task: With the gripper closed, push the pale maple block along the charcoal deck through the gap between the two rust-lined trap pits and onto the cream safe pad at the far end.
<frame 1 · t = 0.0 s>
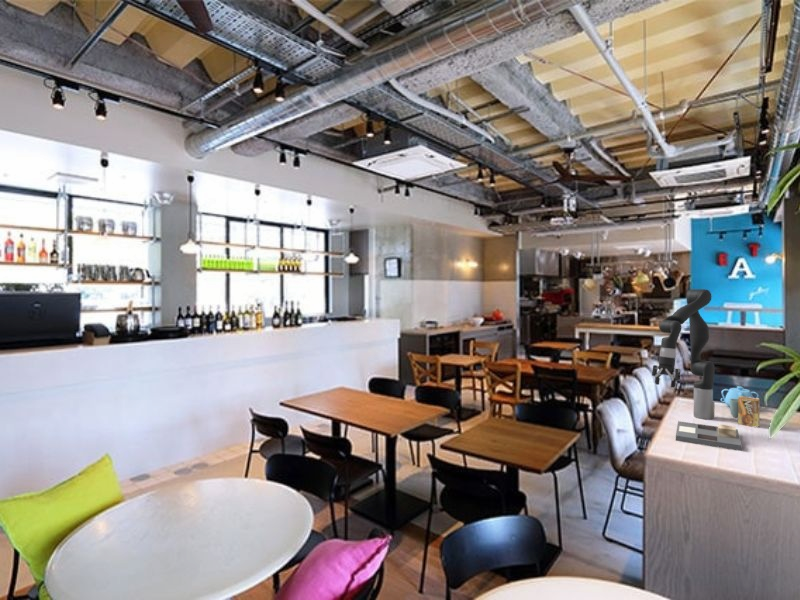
hand: (664, 385, 240), 22 cm above the table, tool pointing down, fingers open, 8 cm apart
maple block: (726, 435, 218), point 2 cm above the table, touching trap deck
cup: (738, 417, 256), on the table
candy box: (748, 425, 241), on the table
decorative pot: (739, 408, 275), on the table
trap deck: (707, 437, 223), on the table
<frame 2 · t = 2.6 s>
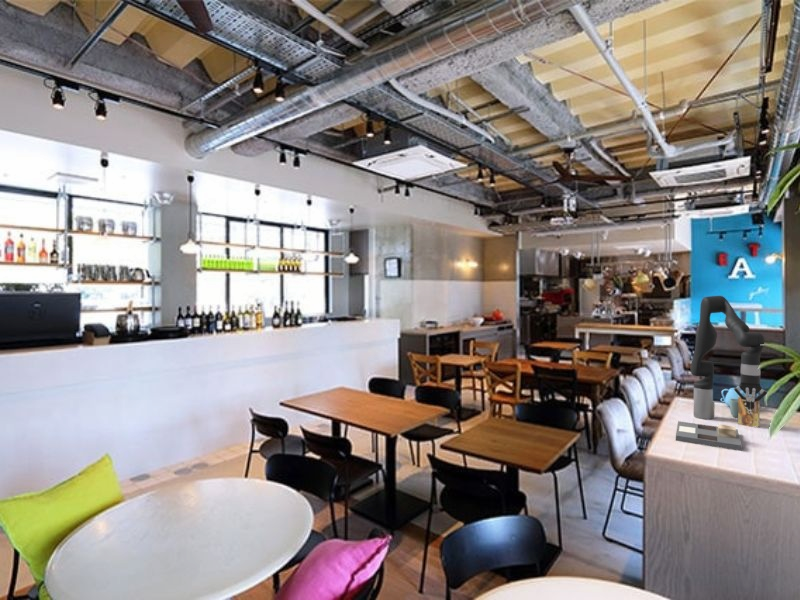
hand: (750, 408, 213), 17 cm above the table, tool pointing down, fingers closed
nothing on the table moved.
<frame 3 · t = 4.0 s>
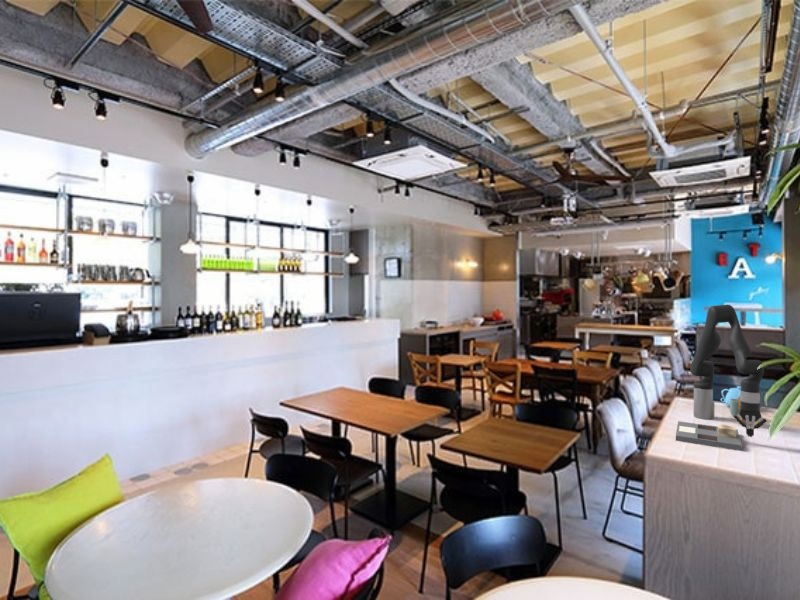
hand: (749, 436, 213), 4 cm above the table, tool pointing down, fingers closed
nothing on the table moved.
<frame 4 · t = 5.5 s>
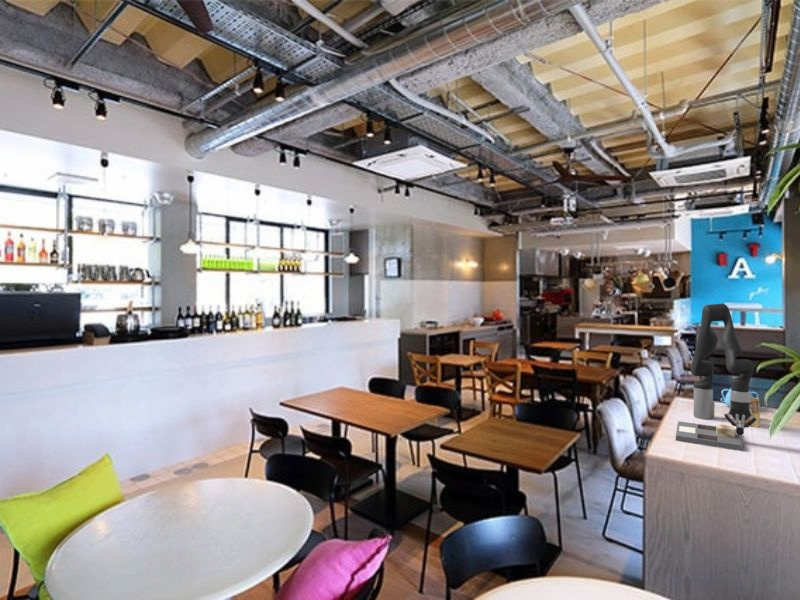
hand: (739, 434, 215), 4 cm above the table, tool pointing down, fingers closed
maple block: (725, 434, 219), point 3 cm above the table, touching gripper
everything else where it was.
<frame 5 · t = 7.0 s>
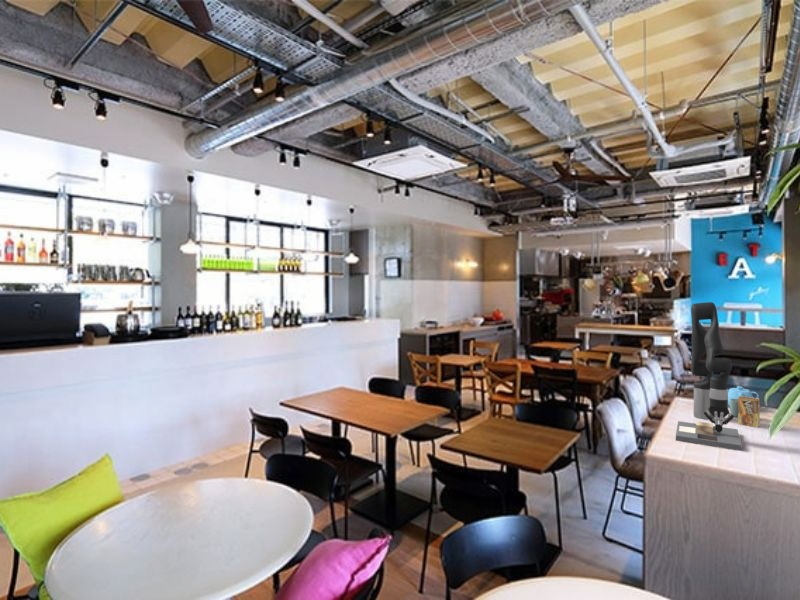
hand: (718, 431, 220), 4 cm above the table, tool pointing down, fingers closed
maple block: (704, 432, 223), point 2 cm above the table, touching gripper, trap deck
everything else where it was.
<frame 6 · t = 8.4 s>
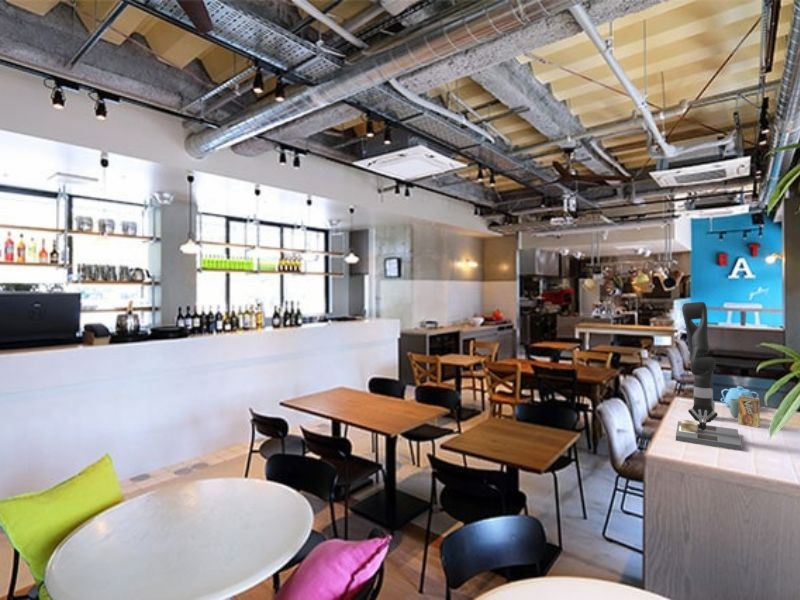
hand: (702, 429, 224), 4 cm above the table, tool pointing down, fingers closed
maple block: (689, 429, 227), point 2 cm above the table, touching gripper, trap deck
everything else where it was.
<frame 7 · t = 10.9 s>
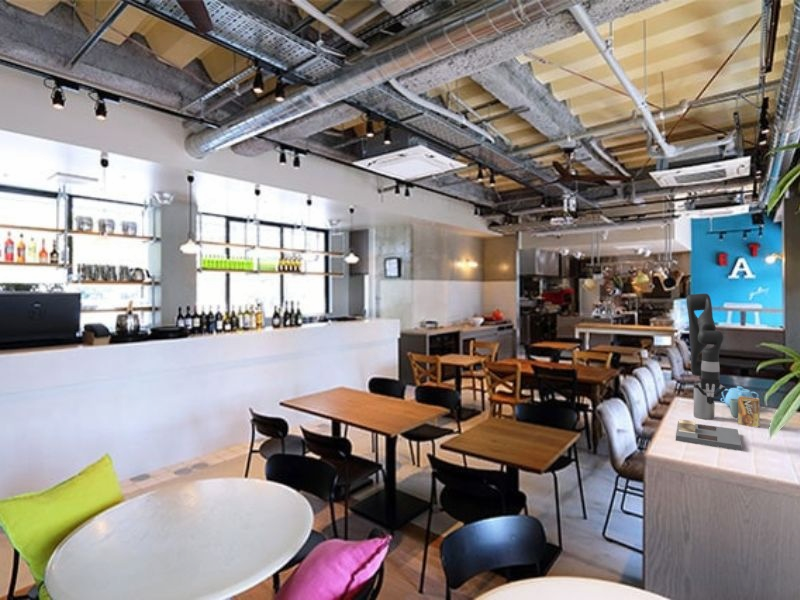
hand: (710, 403, 222), 17 cm above the table, tool pointing down, fingers closed
maple block: (687, 429, 228), point 2 cm above the table, touching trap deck
everything else where it was.
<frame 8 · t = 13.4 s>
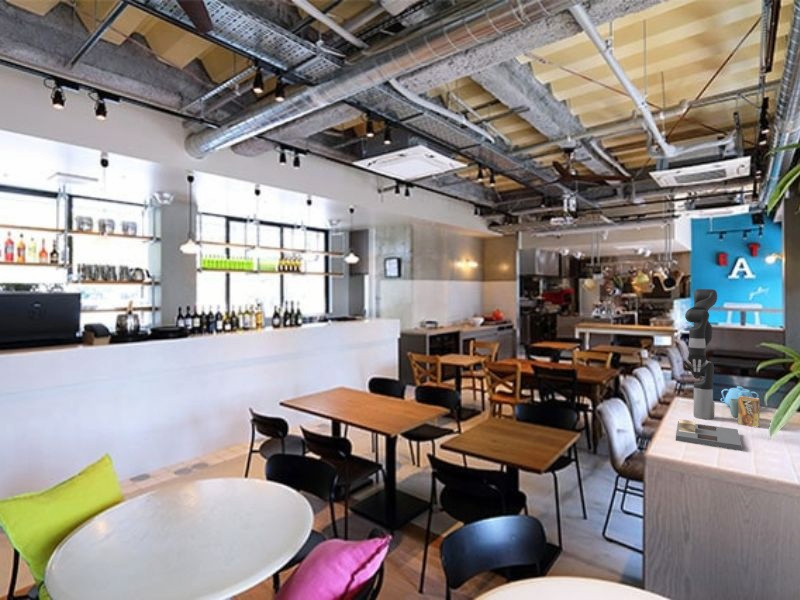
hand: (696, 378, 237), 27 cm above the table, tool pointing down, fingers closed
nothing on the table moved.
at the end: maple block 0.1 cm from the target spot on the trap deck, point 2.5 cm above the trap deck's base; maple block tilted 0° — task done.
